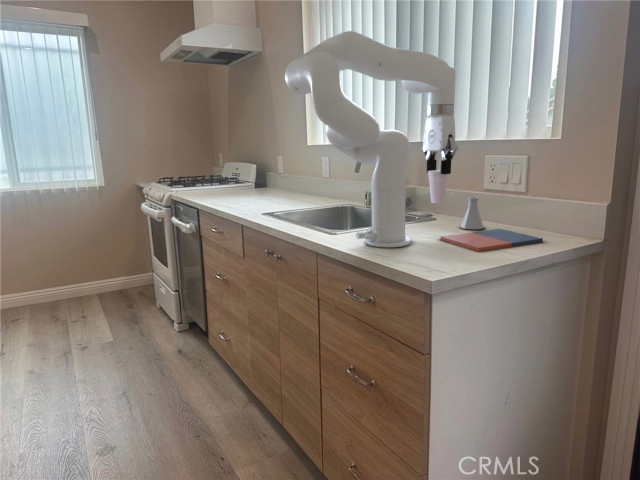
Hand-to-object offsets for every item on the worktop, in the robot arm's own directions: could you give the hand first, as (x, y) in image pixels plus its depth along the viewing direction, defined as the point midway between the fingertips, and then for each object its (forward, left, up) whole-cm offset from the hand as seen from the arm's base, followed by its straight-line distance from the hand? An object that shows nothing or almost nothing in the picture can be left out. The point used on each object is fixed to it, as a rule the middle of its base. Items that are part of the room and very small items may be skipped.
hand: (438, 172), depth 131 cm
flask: (+14, +1, -19) cm, 24 cm away
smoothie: (0, 0, -9) cm, 9 cm away
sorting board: (+6, -16, -19) cm, 25 cm away
